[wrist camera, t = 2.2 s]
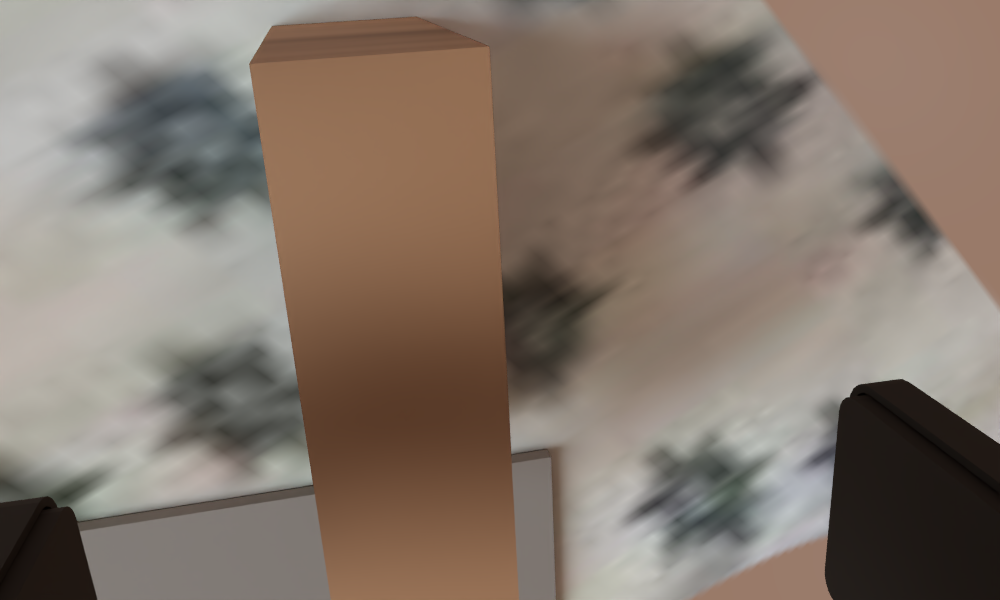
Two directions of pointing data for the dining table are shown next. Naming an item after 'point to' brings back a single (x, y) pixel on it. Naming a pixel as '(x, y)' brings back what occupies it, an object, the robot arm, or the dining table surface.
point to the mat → (276, 546)
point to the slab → (394, 301)
